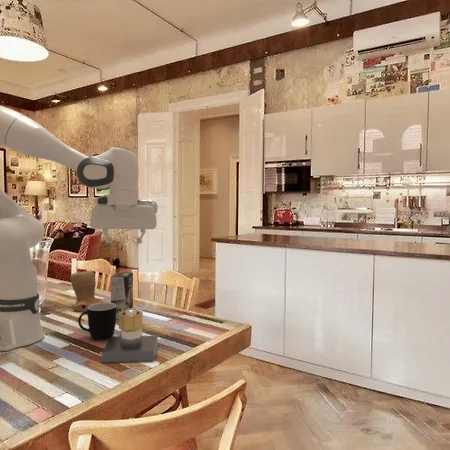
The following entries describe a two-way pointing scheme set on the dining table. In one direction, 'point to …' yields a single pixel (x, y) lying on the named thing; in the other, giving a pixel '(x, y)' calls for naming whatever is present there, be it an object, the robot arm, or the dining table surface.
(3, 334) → the robot arm
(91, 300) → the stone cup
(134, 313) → the grey plate with knob
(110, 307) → the mug
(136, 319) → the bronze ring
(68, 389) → the dining table surface
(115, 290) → the coffee box
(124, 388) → the dining table surface
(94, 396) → the dining table surface
